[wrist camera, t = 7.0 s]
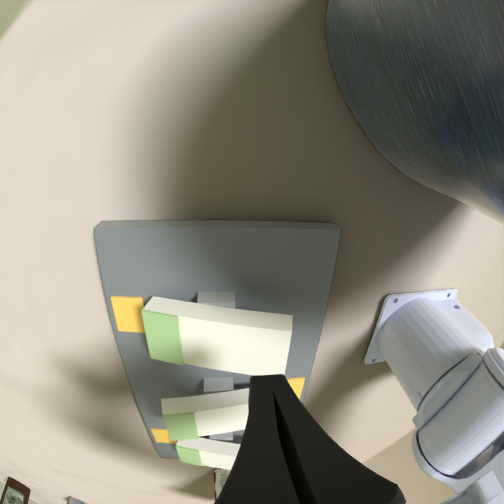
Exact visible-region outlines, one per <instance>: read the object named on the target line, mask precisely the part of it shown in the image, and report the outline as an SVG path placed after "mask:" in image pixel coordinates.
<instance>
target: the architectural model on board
mask: <svg viewBox="0 0 504 504" xmlns="http://www.w3.org/2000/svg"><path fill="white" fill-rule="evenodd" d="M67 504H87V503H85V502H82V501H80V500H78V499H76V498H73V497H71V496H69V497H68V500H67Z"/></svg>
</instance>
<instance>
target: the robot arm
mask: <svg viewBox="0 0 504 504" xmlns="http://www.w3.org/2000/svg"><path fill="white" fill-rule="evenodd" d="M457 293H458V291H457V290H456V289H445V290H435V291H425V292H414V293H402V294H390V295H388V296H387V297H386V298H385V300H384V303H383V306H382V309H381V313H380V316H379V319H378V322H377V325H376V328H375V331H374V334H373V337H372V339H371V342H370V345H369V348H368V350H367V353H366V356H365V358H364V362H365V364H373V363H379V362H384V361H386V362H387V364H388V365H389V367H390V368H391V370H392V372H393V373H394V375H395V376H396V378H397V380H398V381H399V383H400V385H401V386H402V388H403V389H404V391H405V393H406V394H407V396H408V398H409V399H410V401H411V403H412V404H413V406H414V408H415V409H416V411H417V414H416V416H415V417H414V418H413V419H412V420H413V422H414V424H415V426H416V428H417V429H416V430H415V431H414V433H413V435H412V451H413V455H414V458H415V460H416V462H417V464H418V466H419V467H420V468H421V469H422V471H424V472H425V473H426V474H427V475H429V476H430V477H432V478H435V479H437V480H440V481H442V482H443V483H445V484H446V485H448V486H449V487H450V488H451V489H452V490H453V491H454V492H455V493H457V494H456V495H455V496H453V497H452V498H450V499H448V500H446V501H445V502H443V503H441V504H504V350H503V349H501V348H498V347H497V348H494V342H493V339H492V336H491V334H490V332H489V331H488V329H487V328H486V327H485V326H484V325H483V324H482V323H481V322H480V321H479V320H477V319H476V318H475V317H474V316H473V315H472V314H471V313H470V312H469V311H468V310H467V309H466V308H465V307H464V306H462V305H461V304H460V303H459V302H458V301H457V300H456V296H457ZM394 299H395V300H394ZM248 411H249V413H248V419H247V423H246V427H245V431H244V435H243V438H242V442H241V445H240V448H239V451H238V453H237V456H236V459H235V461H234V464H233V466H232V469H231V471H230V474H229V476H228V478H227V480H226V482H225V484H224V486H223V488H222V490H221V492H220V494H219V496H218V498H217V500H216V501H215V503H214V504H405V503H406V500H405V498H404V495H403V494H402V491H401V490H400V488H399V487H398V485H397V484H395V483H393V482H391V481H389V480H387V479H385V478H384V477H382V476H380V475H378V474H376V473H375V472H373V471H372V470H370V469H369V468H366V467H365V466H364V465H363V464H361V463H360V462H359V461H357V460H356V459H355V458H353V457H352V456H351V455H349V454H348V453H347V452H346V451H345V450H343V449H342V448H341V447H340V446H339V445H338V444H337V443H336V442H335V441H334V440H333V439H331V438H330V436H329V435H328V434H327V433H326V432H325V431H324V430H323V429H322V428H321V427H320V426H319V424H318V423H317V422H316V421H315V420H314V418H313V417H312V416H311V415H310V413H309V412H308V411H307V409H306V408H305V407H304V405H303V404H302V403H301V401H300V400H299V398H298V397H297V395H296V394H295V392H294V391H293V389H292V387H291V386H290V384H289V382H288V381H287V379H286V377H285V375H283V374H274V375H256V376H252V377H250V384H249V397H248Z"/></svg>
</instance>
